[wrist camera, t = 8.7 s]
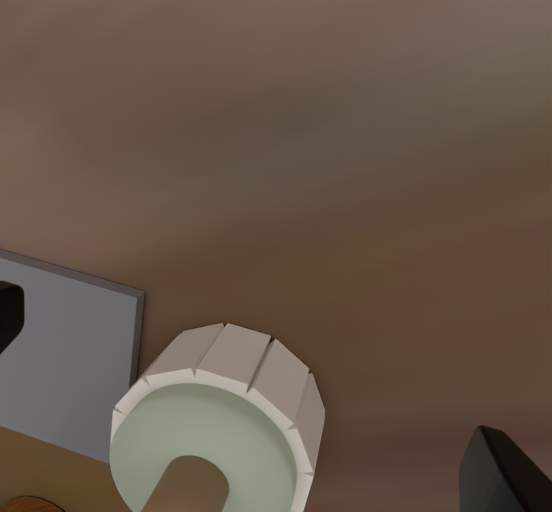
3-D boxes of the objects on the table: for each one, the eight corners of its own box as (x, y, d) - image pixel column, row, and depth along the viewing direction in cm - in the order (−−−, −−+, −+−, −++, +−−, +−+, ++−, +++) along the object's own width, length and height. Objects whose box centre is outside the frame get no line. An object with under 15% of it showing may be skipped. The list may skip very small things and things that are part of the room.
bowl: (342, 356, 22) (333, 410, 18) (301, 497, 25) (286, 567, 22) (160, 303, 23) (118, 343, 19) (145, 444, 27) (105, 501, 23)
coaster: (144, 291, 23) (136, 298, 22) (128, 458, 27) (121, 468, 26) (-47, 235, 25) (-61, 240, 24) (-35, 401, 29) (-46, 409, 28)
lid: (314, 417, 18) (289, 531, 14) (278, 553, 21) (246, 687, 17) (129, 360, 20) (46, 447, 15) (119, 498, 23) (46, 607, 18)
